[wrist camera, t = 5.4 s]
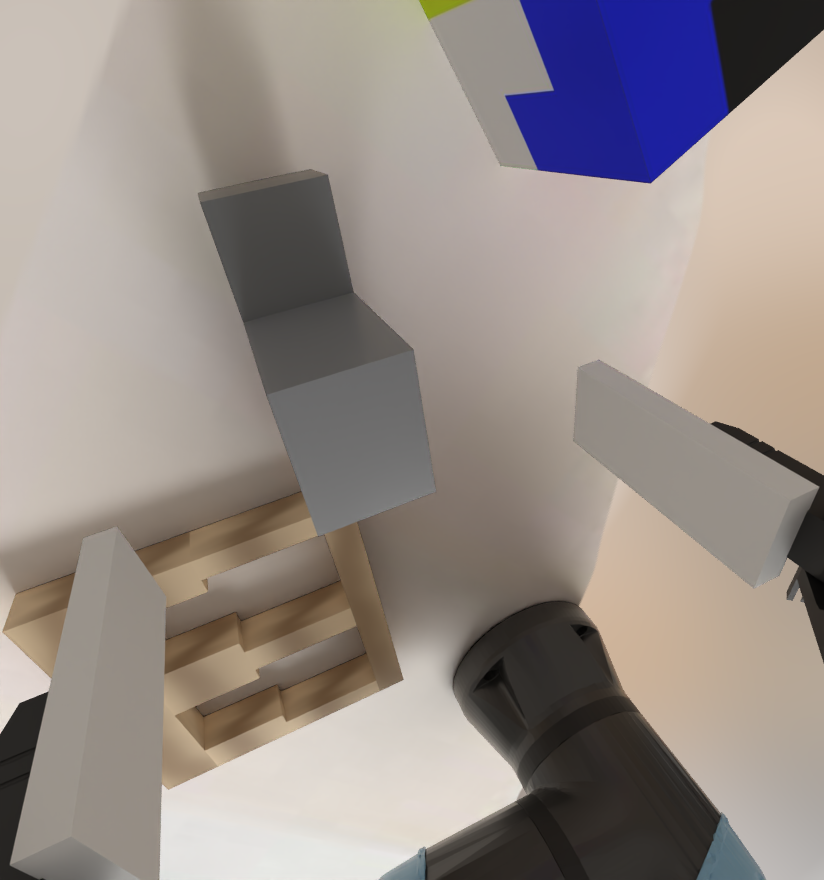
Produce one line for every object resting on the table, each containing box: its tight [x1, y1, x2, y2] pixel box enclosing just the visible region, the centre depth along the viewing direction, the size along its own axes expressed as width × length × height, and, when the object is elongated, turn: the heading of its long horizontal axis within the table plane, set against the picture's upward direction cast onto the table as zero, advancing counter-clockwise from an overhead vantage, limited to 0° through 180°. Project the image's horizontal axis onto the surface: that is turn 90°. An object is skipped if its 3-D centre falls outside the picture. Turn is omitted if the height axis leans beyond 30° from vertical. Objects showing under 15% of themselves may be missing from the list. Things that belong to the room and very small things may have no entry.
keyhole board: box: [3, 492, 403, 790], centre depth 33 cm, size 18×19×2 cm
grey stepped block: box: [198, 169, 436, 537], centre depth 20 cm, size 4×14×12 cm, turn 9°
